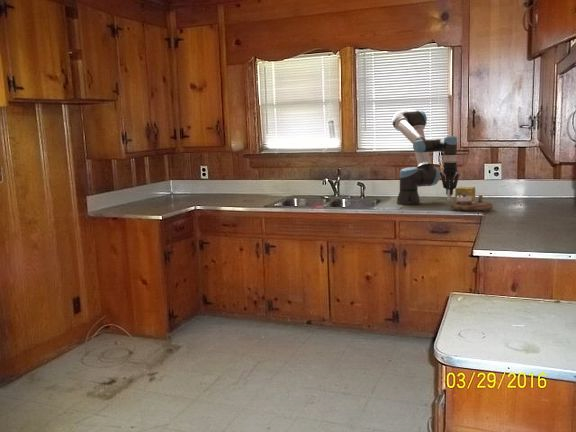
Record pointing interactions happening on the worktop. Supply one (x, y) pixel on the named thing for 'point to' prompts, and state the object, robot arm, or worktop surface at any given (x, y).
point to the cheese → (466, 190)
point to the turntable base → (471, 210)
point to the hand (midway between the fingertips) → (449, 199)
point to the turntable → (474, 205)
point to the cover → (464, 199)
